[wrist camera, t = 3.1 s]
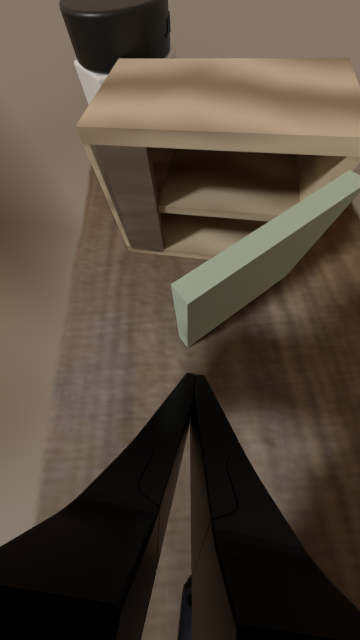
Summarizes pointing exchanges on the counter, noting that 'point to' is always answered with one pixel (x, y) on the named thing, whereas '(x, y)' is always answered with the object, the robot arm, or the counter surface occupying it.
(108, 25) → the jar
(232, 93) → the cabinet
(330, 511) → the counter surface
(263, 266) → the door
